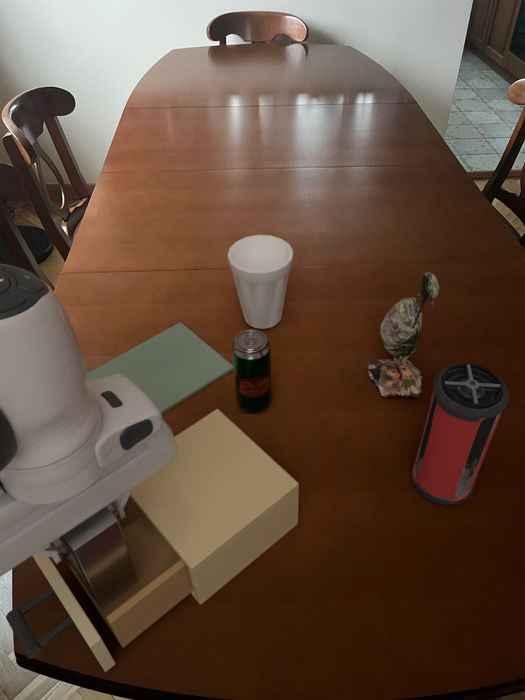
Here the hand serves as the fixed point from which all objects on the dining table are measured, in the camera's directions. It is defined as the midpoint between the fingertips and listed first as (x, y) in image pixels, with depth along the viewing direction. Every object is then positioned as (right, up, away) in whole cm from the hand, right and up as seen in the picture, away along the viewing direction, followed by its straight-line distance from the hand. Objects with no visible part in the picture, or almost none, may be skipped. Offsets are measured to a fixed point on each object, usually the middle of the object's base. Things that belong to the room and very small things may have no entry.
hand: (88, 534), depth 56 cm
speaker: (+39, +1, +18) cm, 43 cm away
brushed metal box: (0, -6, +6) cm, 8 cm away
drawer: (0, -9, +8) cm, 12 cm away
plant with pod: (+36, +14, +32) cm, 50 cm away
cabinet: (+11, -3, +15) cm, 19 cm away
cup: (+17, +23, +42) cm, 51 cm away
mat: (0, +14, +33) cm, 35 cm away
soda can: (+15, +10, +29) cm, 34 cm away
